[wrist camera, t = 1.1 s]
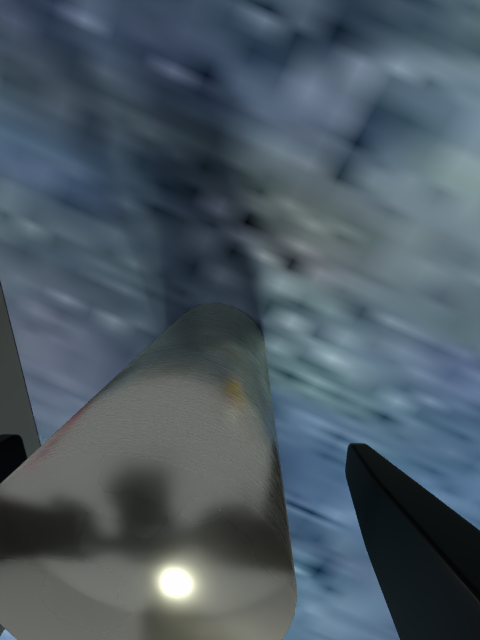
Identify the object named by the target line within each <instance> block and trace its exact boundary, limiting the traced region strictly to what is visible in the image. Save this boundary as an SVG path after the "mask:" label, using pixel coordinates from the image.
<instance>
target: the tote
mask: <svg viewBox="0 0 480 640" xmlns="http://www.w3.org/2000/svg"><path fill="white" fill-rule="evenodd" d="M2 434H18V435H20V436H21V437H22V439H23V443H24V447H25V450H26V454H27V459H28V458H29V457H30V456H31V455H32V454H33V453H34V452H35V451H36V450H37V449H38V448H40V443H39V439H38V435H37V431H36V426H35V422H34V418H33V414H32V410H31V406H30V402H29V398H28V394H27V390H26V386H25V382H24V378H23V374H22V370H21V366H20V362H19V358H18V354H17V350H16V346H15V342H14V338H13V334H12V330H11V326H10V321H9V317H8V313H7V309H6V305H5V301H4V297H3V293H2V289H1V285H0V435H2ZM4 629H5V628H4V627H3V626H2V625H1V624H0V636H1V634H2V632H3V631H4Z"/></svg>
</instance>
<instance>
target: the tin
mask: <svg viewBox="0 0 480 640" xmlns="http://www.w3.org/2000/svg"><path fill="white" fill-rule="evenodd" d="M296 601H297V591H296V578H295V570H294V563H293V555H292V548H291V540H290V533H289V525H288V518H287V510H286V503H285V495H284V488H283V480H282V472H281V465H280V457H279V450H278V442H277V435H276V427H275V420H274V412H273V405H272V397H271V390H270V382H269V375H268V367H267V359H266V352H265V345H264V340H263V337H262V334H261V332H260V330H259V328H258V326H257V325H256V324H255V322H254V321H253V320H252V319H251V318H250V317H249V316H248V315H247V314H245V313H244V312H242V311H241V310H239V309H237V308H235V307H232V306H229V305H225V304H219V303H209V304H203V305H199V306H196V307H194V308H192V309H190V310H188V311H187V312H185V313H184V314H183V315H182V316H180V317H179V318H178V319H177V320H176V321H175V322H174V323H173V324H172V325H171V326H170V327H169V328H168V329H166V330H165V331H164V332H163V333H162V334H161V335H160V336H159V337H158V338H157V339H156V340H155V341H154V342H152V343H151V344H150V345H149V346H148V347H147V348H146V349H145V350H144V351H143V352H142V353H141V354H140V355H138V356H137V357H136V358H135V359H134V360H133V361H132V362H131V363H130V364H129V365H128V366H127V367H126V368H124V369H123V370H122V371H121V372H120V373H119V374H118V375H117V376H116V377H115V378H114V379H113V380H112V381H111V382H109V383H108V384H107V385H106V386H105V387H104V388H103V389H102V390H101V391H100V392H99V393H98V394H97V395H95V396H94V397H93V398H92V399H91V400H90V401H89V402H88V403H87V404H86V405H85V406H84V407H83V408H81V409H80V410H79V411H78V412H77V413H76V414H75V415H74V416H73V417H72V418H71V419H70V420H69V421H67V422H66V423H65V424H64V425H63V426H62V427H61V428H60V429H59V430H58V431H57V432H56V433H55V434H53V435H52V436H51V437H50V438H49V439H48V440H47V441H46V442H45V443H44V444H43V445H42V446H41V447H40V448H38V449H37V450H36V451H35V452H34V453H33V454H32V455H31V456H30V457H29V458H28V459H27V460H26V461H24V462H23V463H22V464H21V465H20V466H19V467H18V468H17V469H16V470H15V471H14V472H13V473H12V474H10V475H9V476H8V477H7V478H6V479H5V480H4V481H3V482H2V483H1V484H0V624H1V625H2V626H3V627H4V628H5V629H6V630H7V631H8V632H9V633H10V634H11V635H12V636H14V637H15V638H16V639H18V640H282V639H283V637H284V636H285V634H286V632H287V631H288V629H289V627H290V624H291V622H292V619H293V616H294V613H295V607H296Z"/></svg>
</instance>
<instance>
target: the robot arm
mask: <svg viewBox="0 0 480 640" xmlns="http://www.w3.org/2000/svg"><path fill="white" fill-rule="evenodd" d="M26 460H27V454H26V450H25V447H24V443H23V439H22V437H21V436H20V435H18V434H2V435H0V484H1V483H2V482H3V481H4V480H5V479H6V478H7V477H8V476H9V475H10V474H12V473H13V472H14V471H15V470H16V469H17V468H18V467H19V466H20V465H21V464H22V463H23V462H24V461H26ZM345 473H346V479H347V483H348V486H349V490H350V493H351V497H352V501H353V504H354V508H355V511H356V515H357V519H358V522H359V526H360V529H361V533H362V536H363V540H364V543H365V547H366V549H367V552H368V555H369V558H370V561H371V563H372V566H373V569H374V571H375V574H376V577H377V579H378V582H379V585H380V587H381V590H382V592H383V595H384V598H385V600H386V603H387V606H388V608H389V611H390V614H391V616H392V619H393V622H394V624H395V627H396V630H397V632H398V635H399V638H400V640H480V530H478V529H477V528H476V527H475V526H473V525H472V524H471V523H469V522H468V521H467V520H465V519H464V518H463V517H461V516H460V515H459V514H457V513H456V512H455V511H454V510H452V509H451V508H450V507H448V506H447V505H446V504H444V503H443V502H442V501H440V500H439V499H438V498H436V497H435V496H434V495H433V494H431V493H430V492H429V491H427V490H426V489H425V488H423V487H422V486H421V485H419V484H418V483H417V482H415V481H414V480H413V479H412V478H410V477H409V476H408V475H406V474H405V473H404V472H402V471H401V470H400V469H398V468H397V467H396V466H394V465H393V464H392V463H391V462H389V461H388V460H387V459H385V458H384V457H383V456H381V455H380V454H379V453H377V452H376V451H375V450H373V449H372V448H371V447H370V446H368V445H367V444H364V443H351V444H349V446H348V450H347V459H346V467H345Z"/></svg>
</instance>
